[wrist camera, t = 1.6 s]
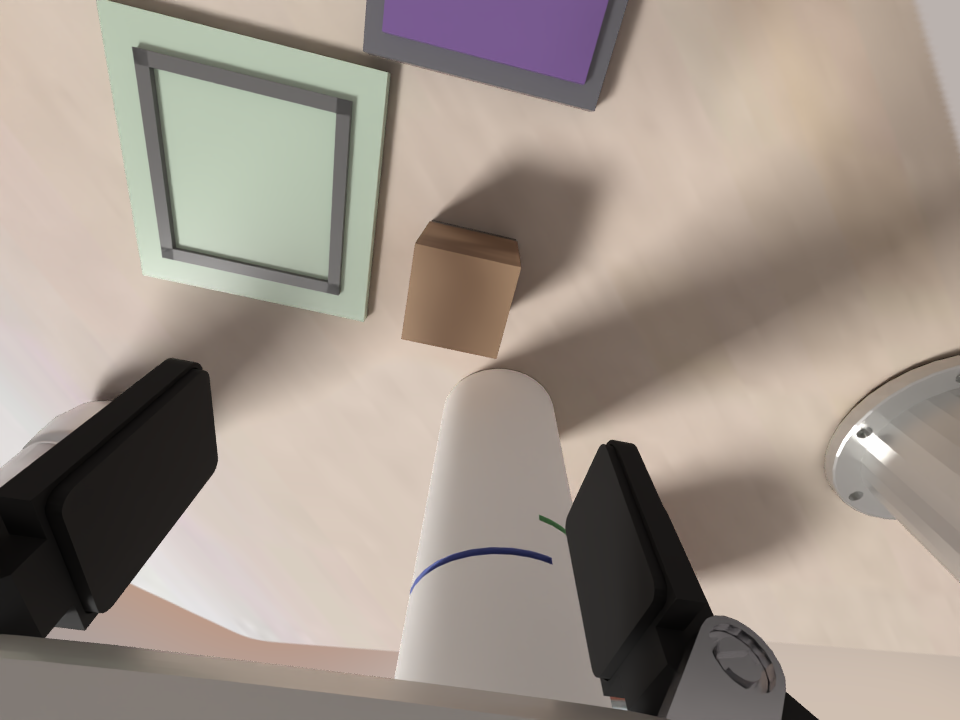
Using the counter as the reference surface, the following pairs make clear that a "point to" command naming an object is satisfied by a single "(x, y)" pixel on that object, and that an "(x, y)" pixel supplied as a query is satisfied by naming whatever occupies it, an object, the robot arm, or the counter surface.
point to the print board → (247, 160)
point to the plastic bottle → (49, 437)
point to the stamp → (461, 289)
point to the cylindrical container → (498, 552)
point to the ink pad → (503, 42)
